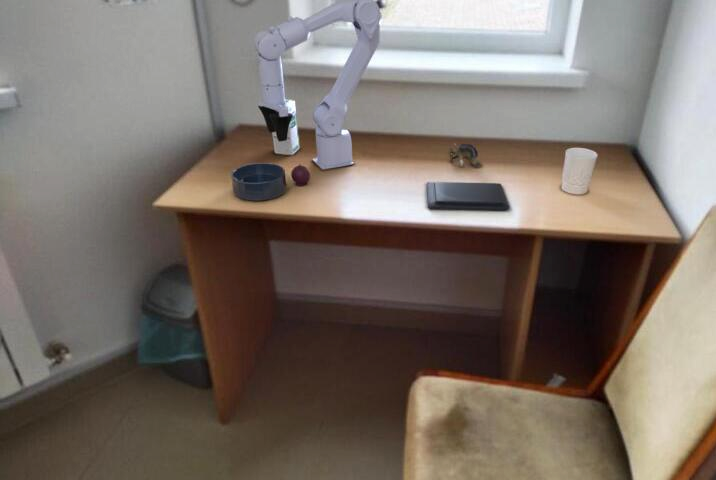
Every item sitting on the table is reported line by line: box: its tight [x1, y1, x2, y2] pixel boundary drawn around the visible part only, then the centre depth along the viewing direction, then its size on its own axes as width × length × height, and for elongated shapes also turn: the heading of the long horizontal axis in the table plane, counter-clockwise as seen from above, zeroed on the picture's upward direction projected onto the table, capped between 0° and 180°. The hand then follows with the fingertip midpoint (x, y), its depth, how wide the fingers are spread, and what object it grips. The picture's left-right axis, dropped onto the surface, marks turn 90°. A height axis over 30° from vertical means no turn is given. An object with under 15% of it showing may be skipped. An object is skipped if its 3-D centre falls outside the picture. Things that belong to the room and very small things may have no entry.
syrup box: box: [271, 98, 301, 156], centre depth 161 cm, size 6×6×14 cm
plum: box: [290, 163, 311, 187], centre depth 144 cm, size 5×5×6 cm
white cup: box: [561, 147, 599, 195], centre depth 145 cm, size 8×8×10 cm
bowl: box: [230, 162, 288, 201], centre depth 140 cm, size 13×13×5 cm
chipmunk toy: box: [446, 143, 482, 168], centre depth 158 cm, size 8×7×9 cm
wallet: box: [426, 181, 510, 212], centre depth 141 cm, size 20×2×15 cm
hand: (277, 136), depth 148 cm, fingers open, 7 cm apart
